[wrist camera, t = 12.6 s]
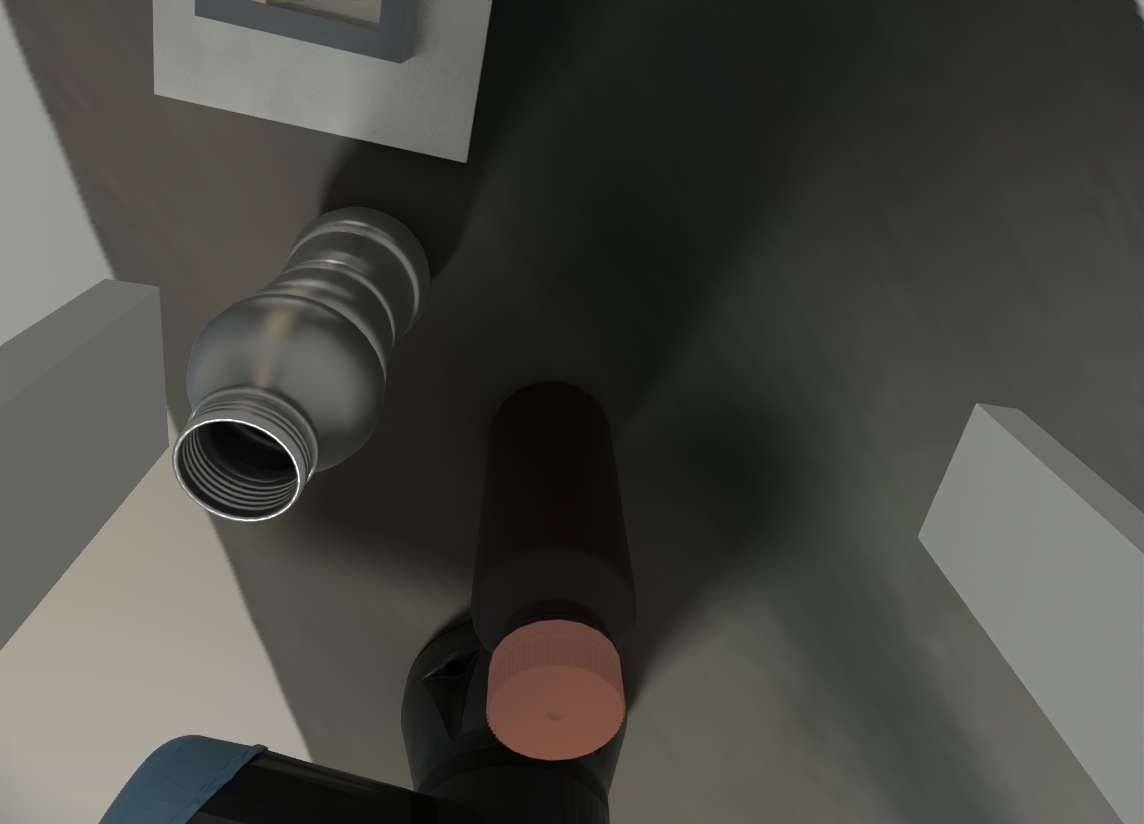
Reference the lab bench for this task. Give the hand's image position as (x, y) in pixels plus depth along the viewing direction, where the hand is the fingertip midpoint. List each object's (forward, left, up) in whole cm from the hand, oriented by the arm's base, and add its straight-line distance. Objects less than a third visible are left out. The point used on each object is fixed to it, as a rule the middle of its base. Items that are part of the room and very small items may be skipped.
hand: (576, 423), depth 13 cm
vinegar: (-16, -3, -29) cm, 33 cm away
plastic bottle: (-8, +8, -29) cm, 31 cm away
